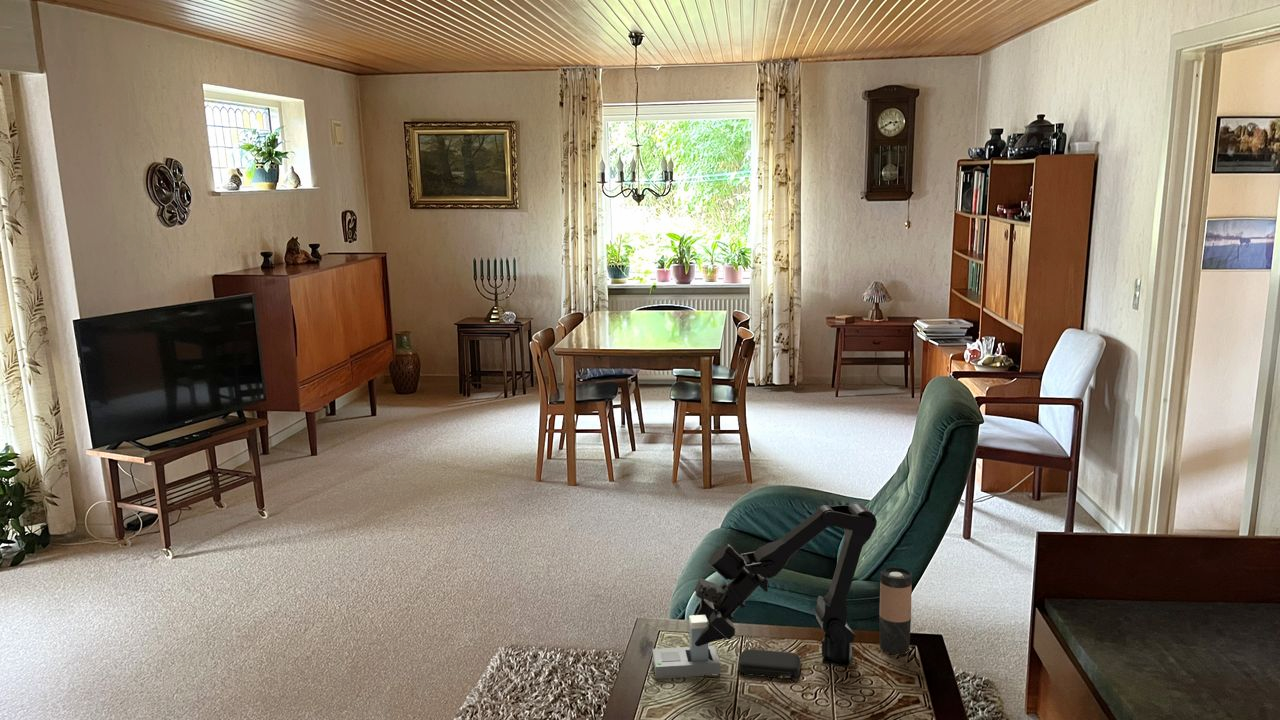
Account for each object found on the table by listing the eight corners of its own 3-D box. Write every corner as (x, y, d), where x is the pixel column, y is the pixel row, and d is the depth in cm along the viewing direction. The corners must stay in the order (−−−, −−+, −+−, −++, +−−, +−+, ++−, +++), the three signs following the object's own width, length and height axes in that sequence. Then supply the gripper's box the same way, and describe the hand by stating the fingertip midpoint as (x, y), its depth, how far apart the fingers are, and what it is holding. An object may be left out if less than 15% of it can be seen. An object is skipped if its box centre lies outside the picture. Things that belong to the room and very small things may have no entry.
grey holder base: (714, 656, 219) (714, 645, 219) (720, 675, 211) (720, 663, 210) (652, 660, 218) (652, 648, 218) (656, 678, 210) (655, 666, 209)
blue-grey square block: (705, 662, 217) (705, 614, 215) (708, 670, 213) (707, 621, 211) (689, 663, 217) (689, 615, 215) (692, 671, 213) (691, 622, 211)
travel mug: (914, 655, 218) (916, 578, 215) (883, 655, 218) (884, 579, 215) (905, 640, 226) (907, 566, 223) (875, 641, 226) (876, 567, 223)
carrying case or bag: (736, 678, 209) (799, 684, 206) (736, 666, 209) (799, 672, 206) (741, 657, 220) (800, 662, 217) (741, 646, 219) (801, 651, 216)
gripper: (708, 555, 220) (665, 599, 221) (720, 585, 202) (673, 632, 203) (740, 583, 222) (697, 626, 223) (754, 615, 204) (708, 662, 205)
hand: (693, 636), depth 213 cm, fingers open, 9 cm apart
